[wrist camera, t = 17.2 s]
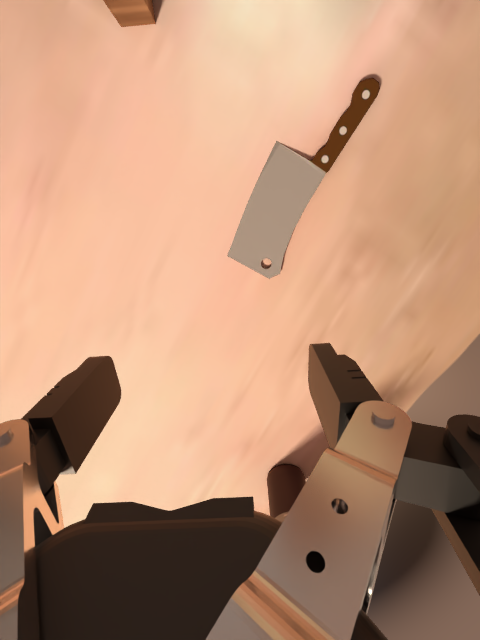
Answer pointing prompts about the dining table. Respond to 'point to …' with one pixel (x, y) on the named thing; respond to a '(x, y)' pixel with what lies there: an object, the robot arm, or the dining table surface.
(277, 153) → the kitchen cleaver
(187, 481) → the dining table surface
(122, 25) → the upright wooden plank
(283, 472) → the wine bottle
